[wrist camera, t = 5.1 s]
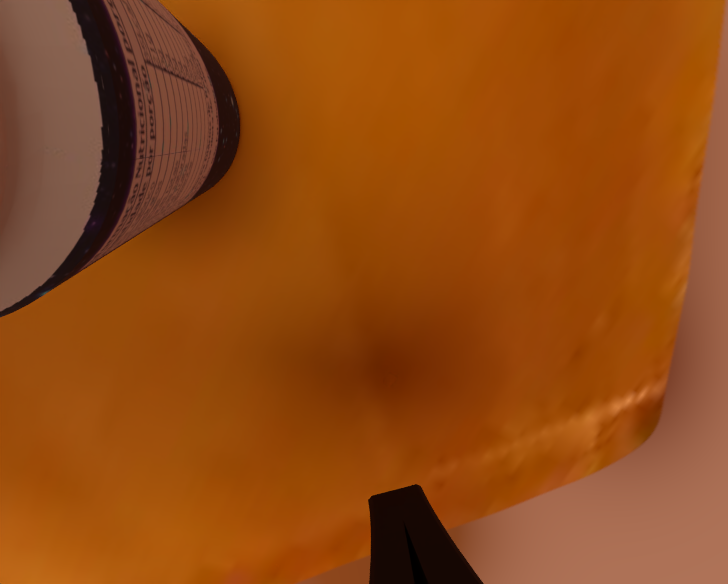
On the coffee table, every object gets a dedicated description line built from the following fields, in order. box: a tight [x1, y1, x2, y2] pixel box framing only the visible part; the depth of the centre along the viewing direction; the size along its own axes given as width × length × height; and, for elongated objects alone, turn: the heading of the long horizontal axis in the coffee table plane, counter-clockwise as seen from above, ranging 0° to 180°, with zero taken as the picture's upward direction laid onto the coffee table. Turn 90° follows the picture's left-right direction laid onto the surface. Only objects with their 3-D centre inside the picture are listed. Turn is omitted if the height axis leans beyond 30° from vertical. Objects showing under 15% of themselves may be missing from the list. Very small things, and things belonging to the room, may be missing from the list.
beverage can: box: [0, 0, 240, 317], centre depth 8 cm, size 6×6×12 cm
